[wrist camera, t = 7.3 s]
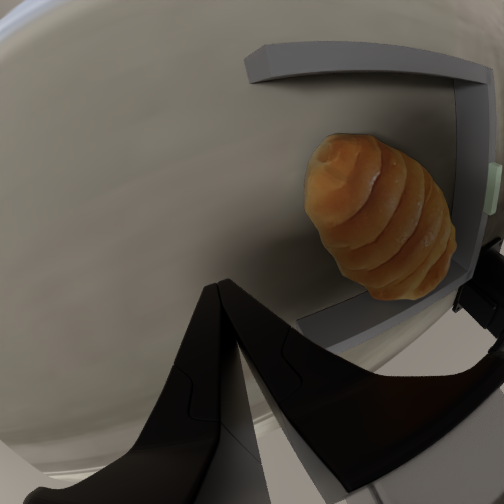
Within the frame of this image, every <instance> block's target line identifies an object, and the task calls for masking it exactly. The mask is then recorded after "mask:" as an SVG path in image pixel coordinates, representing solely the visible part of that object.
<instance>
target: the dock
mask: <svg viewBox="0 0 504 504" xmlns="http://www.w3.org/2000/svg"><path fill="white" fill-rule="evenodd" d="M244 61H245V65H246V70H247V74H248V78H249V82H250V83H256V82H261V81H267V80H274V79H280V78H288V77H296V76H305V75H315V74H329V73H349V72H386V73H406V74H419V75H429V76H437V77H444V78H451V79H453V81H454V90H455V102H456V119H457V159H456V177H455V190H454V199H453V208H452V215H451V223H452V224H453V226H454V227H455V241H456V243H457V248H456V250H455V252H454V253H453V255H452V257H451V260H450V266H449V269H448V272H447V274H446V276H445V277H444V279H443V280H442V281H441V282H440V283H439V284H438V285H437V286H436V288H435V289H434V290H432V291H431V292H429V293H428V294H427V295H425V296H423V297H421V298H418V299H416V300H410V299H397V300H389V301H385V300H378V299H374V298H373V297H372V296H371V295H370V293H369V292H368V291H367V292H365V293H363V294H361V295H358V296H356V297H354V298H351V299H349V300H347V301H344V302H342V303H340V304H337V305H335V306H332V307H330V308H328V309H325V310H323V311H320V312H318V313H315V314H313V315H310V316H307V317H305V318H302V319H300V320H297V321H296V323H297V330H298V332H299V333H301V334H302V335H304V336H305V337H307V338H308V339H310V340H311V341H312V342H314V343H316V344H317V345H319V346H321V347H323V348H324V349H326V350H328V351H330V352H332V353H334V354H335V355H337V354H339V353H341V352H343V351H346V350H348V349H350V348H352V347H354V346H356V345H358V344H360V343H363V342H365V341H367V340H369V339H371V338H373V337H375V336H377V335H379V334H381V333H382V332H384V331H386V330H388V329H390V328H392V327H394V326H396V325H397V324H399V323H401V322H403V321H405V320H406V319H408V318H410V317H412V316H413V315H415V314H417V313H419V312H420V311H422V310H424V309H425V308H427V307H429V306H430V305H432V304H433V303H435V302H437V301H438V300H440V299H441V298H443V297H445V296H446V295H448V294H449V293H451V292H452V291H454V290H455V289H457V288H458V287H460V286H461V285H463V284H464V283H465V282H467V281H468V280H470V279H471V278H472V276H473V273H474V270H475V267H476V263H477V260H478V256H479V253H480V249H481V245H482V241H483V237H484V232H485V228H486V223H487V218H488V215H492V214H494V213H496V208H497V202H498V196H499V189H500V181H501V173H502V165H500V164H498V163H496V162H495V156H496V97H495V85H494V76H493V69H491V68H489V67H486V66H483V65H480V64H477V63H474V62H470V61H467V60H464V59H460V58H456V57H453V56H449V55H445V54H440V53H436V52H431V51H426V50H421V49H416V48H410V47H403V46H396V45H388V44H379V43H367V42H348V41H311V42H292V43H279V44H270V45H264V46H262V47H261V48H259V49H258V50H256V51H255V52H253V53H252V54H250V55H249V56H247V57H246V58H245V59H244Z"/></svg>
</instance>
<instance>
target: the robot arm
mask: <svg viewBox="0 0 504 504" xmlns="http://www.w3.org/2000/svg"><path fill="white" fill-rule="evenodd" d="M502 242H503V239H501V238H500V237H498V238H497V239H496V240H494V241H493V242H491V243H490V244H488V245H487V246H486V247H484V248H483V249H481V250H480V253H479V256H478V260H477V263H476V267H475V270H474V273H473V276H472V278H471V279H470V280H468V281H467V282H465V283H464V284H463V285H461V286H460V288H459V292H458V294H457V297H456V300H455V303H454V306H453V309H452V310H453V311H454V312H455V313H456V312H458V311H459V310H461V309H462V308H464V309H465V310H466V311H467V312H468V313H469V314H470V315H471V316H472V317H473V318H474V319H475V320H476V321H477V322H478V323H479V324H480V325H481V326H482V327H483V328H484V329H486V328H487V329H488V330H489V331H490V332H491V334H493V336H495V338H497V341H496V342H495V344H494V345H493V346H492V347H491V348H490V349H489V350H488V354H487V355H486V356H485V357H483V358H482V359H481V360H480V361H479V362H478V363H477V364H476V365H475V366H473V367H472V368H471V369H469V370H466V371H464V372H462V373H458V374H455V375H446V376H405V377H404V376H383V375H378V374H375V373H372V372H369V371H367V370H365V369H363V368H361V367H359V366H357V365H355V364H353V363H351V362H349V361H347V360H345V359H343V358H341V357H339V356H337V355H335V354H334V353H332V352H330V351H328V350H326V349H324V348H323V347H321V346H319V345H317V344H316V343H314V342H312V341H311V340H310V339H308V338H307V337H305V336H304V335H302V334H301V333H299V332H298V331H297V330H295V329H294V328H291V326H290V325H289V324H287V323H286V322H285V321H283V320H282V319H281V318H279V317H278V316H277V315H275V314H274V313H273V312H272V311H270V310H269V309H268V308H266V307H265V306H264V305H262V304H261V303H260V302H259V301H257V300H256V299H255V298H253V297H252V296H251V295H250V294H248V293H247V292H246V291H245V290H243V289H242V288H241V287H239V286H238V285H237V284H236V283H234V282H233V281H232V280H231V279H225V280H222V281H219V282H218V283H213V284H210V285H207V286H205V287H204V288H203V291H202V293H201V296H200V298H199V301H198V303H197V305H196V308H195V310H194V313H193V315H192V318H191V320H190V323H189V325H188V328H187V330H186V333H185V335H184V338H183V340H182V343H181V345H180V348H179V350H178V353H177V356H176V358H175V361H174V365H173V366H172V368H171V371H170V373H169V376H168V378H167V381H166V383H165V386H164V388H163V390H162V392H161V394H160V396H159V398H158V400H157V403H156V405H155V406H154V408H153V410H152V412H151V414H150V416H149V418H148V420H147V422H146V424H145V426H144V428H143V430H142V432H141V434H140V435H139V437H138V439H137V441H136V442H135V444H134V445H133V447H132V448H131V449H130V450H129V451H128V452H127V453H126V454H125V455H123V456H122V457H120V458H119V459H117V460H116V461H114V462H113V463H111V464H109V465H108V466H106V467H105V468H103V469H101V470H100V471H98V472H96V473H95V474H93V475H91V476H89V477H88V478H86V479H84V480H82V481H81V482H79V483H77V484H75V485H73V486H71V487H68V488H64V489H51V488H46V487H38V488H36V489H35V490H34V491H32V492H31V493H29V494H28V496H27V497H26V498H25V500H24V502H23V504H271V502H270V497H269V493H268V489H267V485H266V480H265V476H264V472H263V467H262V465H261V464H262V463H261V458H260V454H259V449H258V445H257V440H256V435H255V430H254V426H253V421H252V416H251V411H250V406H249V401H248V396H247V391H246V386H245V380H244V375H243V370H242V364H241V359H240V354H239V349H238V345H239V347H240V350H241V352H242V354H243V356H244V358H245V360H246V362H247V364H248V366H249V368H250V370H251V372H252V374H253V376H254V378H255V380H256V382H257V383H258V385H259V387H260V389H261V391H262V393H263V395H264V397H265V399H266V401H267V402H268V404H269V406H270V408H271V410H272V412H273V414H274V415H275V417H276V419H277V421H278V423H279V425H280V426H281V428H282V430H283V431H284V434H285V435H286V437H287V439H288V441H289V442H290V444H291V446H292V448H293V449H294V451H295V452H296V454H297V456H298V458H299V460H300V461H301V463H302V464H303V466H304V468H305V470H306V471H307V473H308V475H309V476H310V478H311V479H312V481H313V483H314V485H315V486H316V488H317V489H318V491H319V492H320V494H321V495H322V497H323V499H324V500H325V502H326V504H334V503H337V502H339V501H342V500H344V499H346V502H347V504H504V394H503V392H502V391H501V390H500V386H501V385H502V384H503V383H504V256H503V255H502V254H500V253H499V252H500V249H501V245H502ZM236 340H237V341H236ZM237 343H238V344H237Z"/></svg>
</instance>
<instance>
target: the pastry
mask: <svg viewBox="0 0 504 504" xmlns="http://www.w3.org/2000/svg"><path fill="white" fill-rule="evenodd" d="M304 193H305V203H304V208H305V212H306V214H307V215H308V216H309V218H310V219H311V221H312V222H313V224H314V225H315V227H316V228H317V230H318V231H319V234H320V239H321V243H322V244H323V245H324V247H325V248H326V249H327V251H328V252H329V253H330V254H331V255H332V256H333V258H334V259H335V261H336V263H337V265H338V268H339V270H340V272H341V274H342V275H343V276H344V277H346V278H349V279H350V280H352V281H355V282H357V283H359V284H361V285H362V286H364V287H365V288H366V289H367V290H368V292H369V293H370V295H371V296H372V297H373V298H374V299H378V300H385V301H389V300H397V299H410V300H416V299H418V298H421V297H423V296H425V295H427V294H428V293H429V292H431V291H432V290H434V289H435V288H436V286H437V285H438V284H439V283H440V282H441V281H442V280H443V279H444V277H445V276H446V274H447V272H448V269H449V266H450V260H451V257H452V255H453V253H454V252H455V250H456V248H457V243H456V241H455V227H454V226H453V224H452V223H451V219H450V214H449V209H448V206H447V203H446V199H445V197H444V195H443V192H442V190H441V189H440V188H439V187H438V186H437V184H436V183H435V182H434V181H433V179H432V177H431V175H430V174H429V173H428V171H427V170H426V169H425V168H424V167H423V166H421V165H420V163H418V162H417V161H416V160H414V159H412V158H410V157H408V156H407V155H406V154H405V153H403V152H401V151H399V150H396V149H394V148H392V147H389V146H388V145H386V144H384V143H382V142H380V141H379V140H378V139H376V138H375V137H373V136H371V135H356V134H343V133H342V134H333V135H330V136H327V137H326V138H325V139H324V141H323V142H322V143H321V144H320V145H319V146H318V147H317V149H316V150H315V151H314V153H313V154H312V156H311V158H310V160H309V163H308V166H307V170H306V175H305V182H304Z"/></svg>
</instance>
